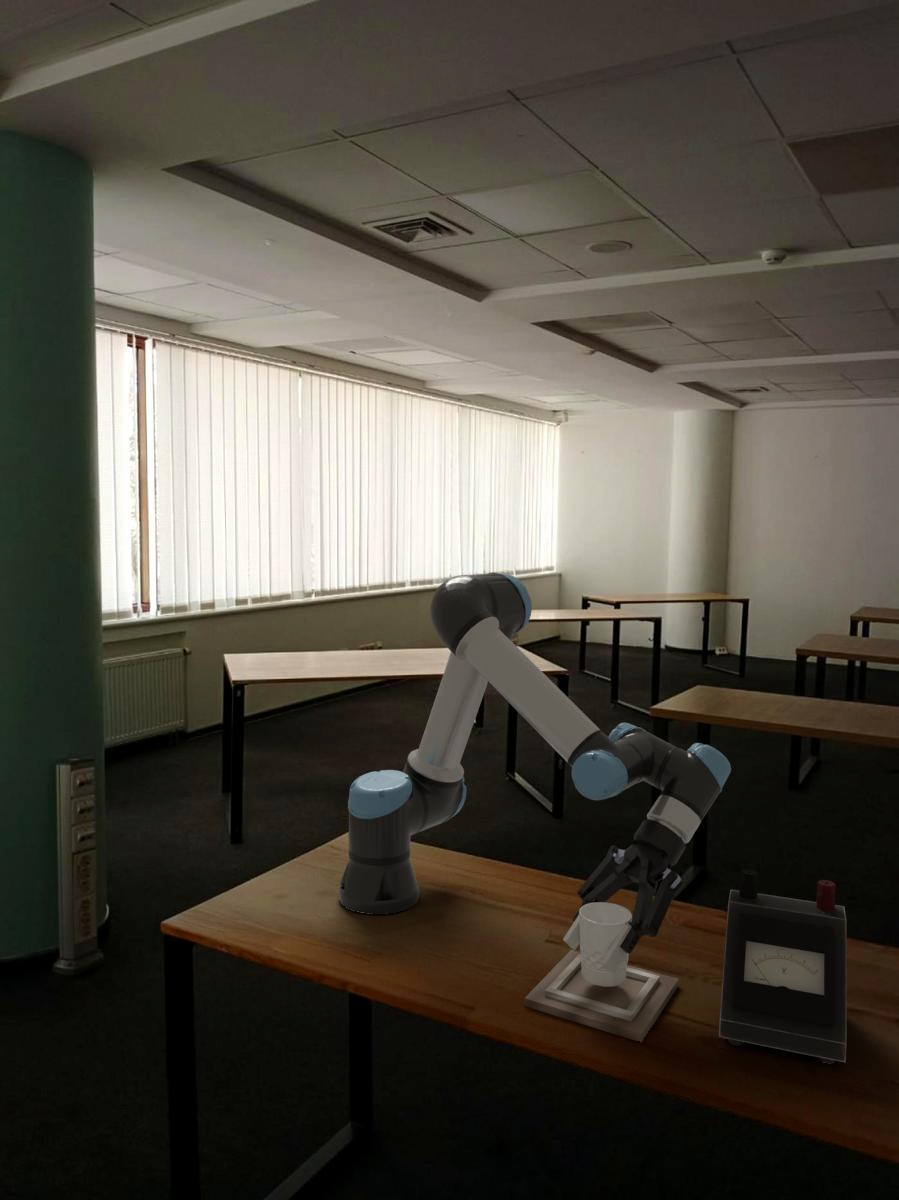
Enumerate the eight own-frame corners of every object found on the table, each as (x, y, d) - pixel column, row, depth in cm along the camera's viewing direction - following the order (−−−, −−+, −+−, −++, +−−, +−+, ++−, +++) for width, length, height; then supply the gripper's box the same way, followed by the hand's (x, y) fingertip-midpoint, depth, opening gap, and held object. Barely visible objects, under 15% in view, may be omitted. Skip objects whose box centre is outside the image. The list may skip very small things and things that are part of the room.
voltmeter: (718, 1047, 126) (724, 908, 124) (725, 991, 141) (731, 866, 139) (844, 1074, 120) (853, 928, 118) (838, 1011, 136) (845, 882, 134)
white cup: (598, 994, 133) (600, 928, 132) (567, 970, 140) (568, 907, 139) (640, 982, 137) (642, 918, 136) (608, 959, 144) (610, 898, 143)
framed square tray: (524, 1005, 136) (524, 993, 135) (571, 956, 151) (571, 945, 151) (641, 1042, 127) (641, 1028, 126) (678, 986, 142) (678, 973, 142)
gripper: (729, 865, 137) (651, 998, 130) (629, 826, 154) (555, 941, 146) (707, 838, 134) (626, 972, 126) (608, 800, 151) (530, 917, 143)
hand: (588, 955), depth 136 cm, fingers closed on white cup, 8 cm apart
